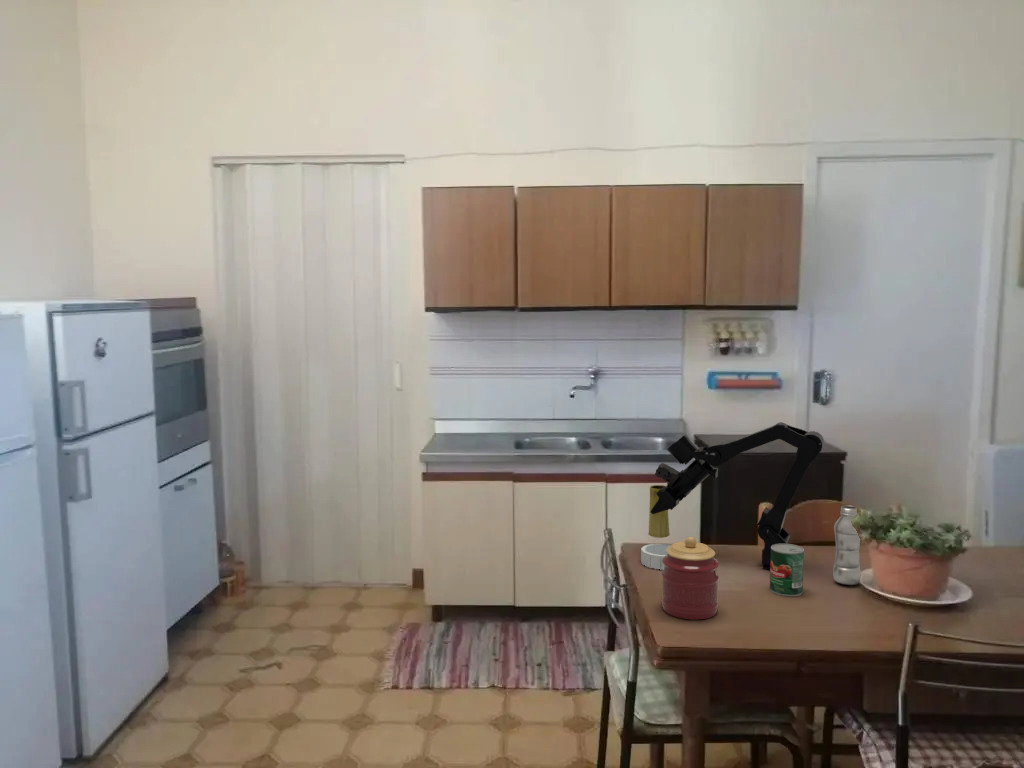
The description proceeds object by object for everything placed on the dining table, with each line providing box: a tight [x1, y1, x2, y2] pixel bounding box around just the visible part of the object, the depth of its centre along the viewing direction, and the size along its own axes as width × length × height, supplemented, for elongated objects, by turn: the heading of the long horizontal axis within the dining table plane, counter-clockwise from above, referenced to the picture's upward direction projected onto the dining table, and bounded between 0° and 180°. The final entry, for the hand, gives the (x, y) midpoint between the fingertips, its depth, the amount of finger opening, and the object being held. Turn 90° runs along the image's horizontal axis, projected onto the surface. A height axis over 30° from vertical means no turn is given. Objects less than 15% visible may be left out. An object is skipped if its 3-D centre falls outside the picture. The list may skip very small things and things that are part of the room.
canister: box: [661, 536, 720, 621], centre depth 179 cm, size 13×13×18 cm
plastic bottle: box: [832, 505, 862, 586], centre depth 195 cm, size 6×7×20 cm
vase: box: [647, 484, 671, 539], centre depth 222 cm, size 6×6×14 cm
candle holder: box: [640, 543, 673, 571], centre depth 212 cm, size 11×11×4 cm
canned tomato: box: [769, 543, 805, 597], centre depth 191 cm, size 8×8×11 cm
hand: (654, 510), depth 223 cm, fingers closed on vase, 5 cm apart
